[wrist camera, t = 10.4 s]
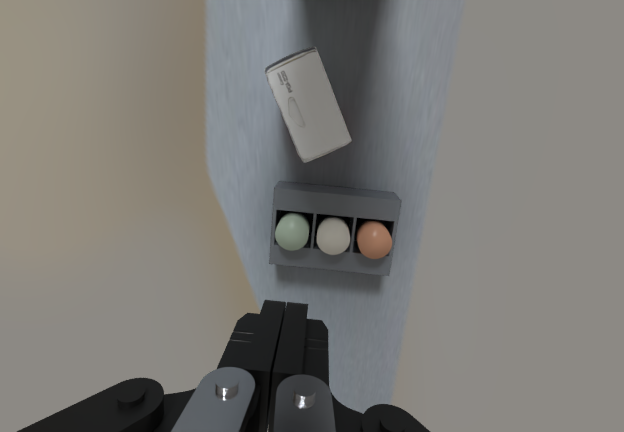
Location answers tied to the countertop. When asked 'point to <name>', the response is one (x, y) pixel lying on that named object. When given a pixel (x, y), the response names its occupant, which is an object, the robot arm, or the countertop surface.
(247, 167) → the countertop surface
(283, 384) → the robot arm
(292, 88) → the ink box
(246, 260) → the countertop surface
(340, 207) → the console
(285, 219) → the sage button
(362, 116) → the countertop surface
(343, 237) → the cream button
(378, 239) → the terracotta button
